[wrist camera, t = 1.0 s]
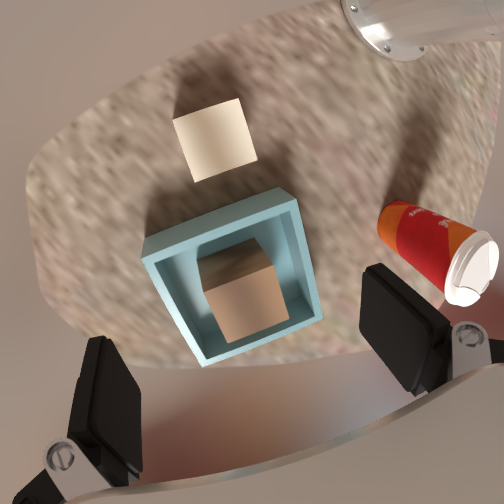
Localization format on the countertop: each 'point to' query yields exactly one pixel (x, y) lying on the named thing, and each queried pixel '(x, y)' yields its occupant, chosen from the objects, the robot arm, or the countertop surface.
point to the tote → (223, 236)
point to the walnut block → (242, 289)
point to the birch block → (215, 139)
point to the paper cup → (441, 250)
